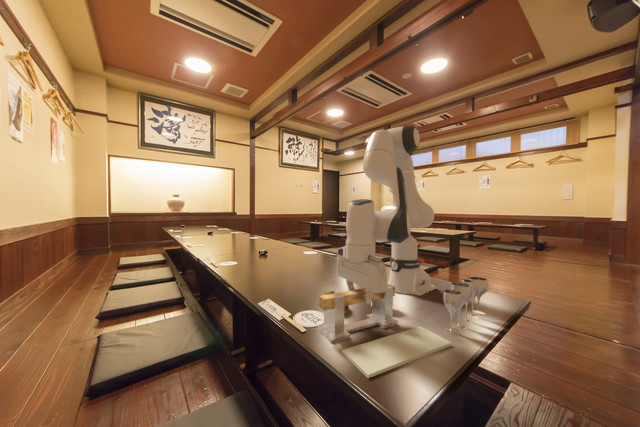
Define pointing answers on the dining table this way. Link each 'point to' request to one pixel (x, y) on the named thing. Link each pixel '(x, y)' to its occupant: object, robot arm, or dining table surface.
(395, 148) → the robot arm
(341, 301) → the rack
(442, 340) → the mat
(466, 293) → the goblet set
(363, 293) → the bar
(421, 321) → the dining table surface
